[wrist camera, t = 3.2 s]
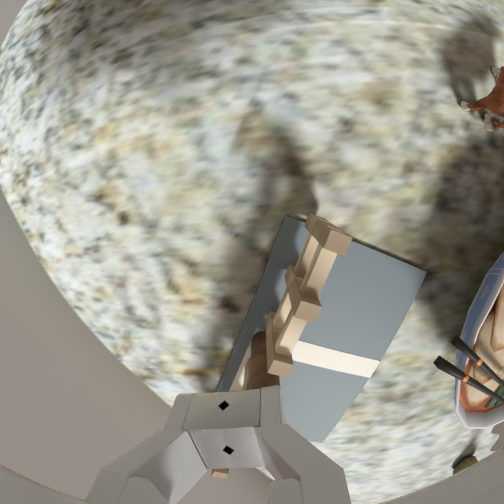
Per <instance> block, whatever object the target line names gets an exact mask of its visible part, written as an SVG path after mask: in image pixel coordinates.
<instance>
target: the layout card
mask: <svg viewBox="0 0 504 504" xmlns="http://www.w3.org/2000/svg"><path fill="white" fill-rule="evenodd" d="M304 225H305V222H302V221H300V220H297V219H294V218H292V217H289V216H286V215H285V218H284V220H283V223H282V226H281V228H280V231H279V234H278V236H277V239H276V242H275V244H274V247H273V250H272V252H271V255H270V257H269V260H268V263H267V265H266V268H265V271H264V273H263V276H262V278H261V281H260V284H259V286H258V289H257V291H256V294H255V296H254V299H253V302H252V304H251V307H250V309H249V312H248V314H247V317H246V319H245V322H244V325H243V327H242V330H241V332H240V335H239V337H238V340H237V342H236V345H235V347H234V350H233V352H232V355H231V357H230V360H229V362H228V365H227V367H226V370H225V372H224V375H223V377H222V380H221V382H220V385H219V387H218V390H217V392H231V391H234V390H235V391H240V390H241V388H242V386H243V384H244V371H245V365H246V363H247V361H248V358H251V340H252V337H253V336H254V334H256V333H257V332H260V331H266V319H267V317H268V315H269V312H270V311H273V312H277V310H278V307H279V305H280V302H281V300H282V298H283V295H284V293H285V291H286V288H287V286H286V282H285V277H284V276H285V273H286V271H287V268H288V266H289V264H291V265H294V266H296V264H297V261H298V259H299V256H300V254H301V251H302V249H303V246H304V244H305V241H306V239H307V236H308V234H309V231H308V230H307V229H306V228H305V227H304ZM426 273H427V272H426V271H424V270H422V269H419V268H417V267H415V266H412V265H410V264H408V263H405V262H403V261H401V260H398V259H396V258H393V257H391V256H389V255H386V254H384V253H381V252H379V251H377V250H374V249H372V248H369V247H367V246H364V245H362V244H359V243H357V242H354V241H351V243H350V246H349V248H348V250H347V253H346V255H345V256H342V255H340V254H337V256H336V258H335V261H334V263H333V265H332V268H331V270H330V272H329V275H328V277H327V279H326V281H325V284H324V286H323V288H322V290H321V293H320V295H319V297H318V299H319V301H320V303H321V305H322V309H321V311H320V313H319V315H318V317H317V320H316V322H315V323H312V322H308V321H307V323H306V325H305V327H304V329H303V331H302V333H301V335H300V337H299V339H298V341H297V343H296V346H295V348H294V350H293V352H292V359H293V367H292V369H291V371H290V373H289V374H288V376H287V378H286V377H282V376H279V378H280V389H281V395H282V401H283V407H284V412H285V419H286V424H288V425H290V426H291V427H292V428H293V429H294V430H295V431H297V432H298V433H299V434H300V435H301V436H303V437H304V438H305V439H306V440H308V441H315V442H323V441H324V440H325V438H326V437H327V436H328V435H329V433H330V432H331V431H332V430H333V428H334V427H335V426H336V424H337V423H338V422H339V420H340V419H341V418H342V417H343V415H344V414H345V412H346V411H347V410H348V408H349V407H350V406H351V404H352V403H353V401H354V400H355V399H356V397H357V396H358V394H359V393H360V391H361V390H362V388H363V387H364V385H365V384H366V382H367V381H368V379H369V378H370V377H371V375H372V374H373V372H374V371H375V369H376V367H377V366H378V364H379V363H380V360H381V359H382V357H383V355H384V354H385V352H386V350H387V349H388V347H389V345H390V344H391V342H392V340H393V338H394V337H395V335H396V333H397V331H398V329H399V327H400V326H401V324H402V322H403V320H404V318H405V316H406V314H407V312H408V310H409V309H410V307H411V305H412V303H413V301H414V299H415V296H416V294H417V292H418V290H419V288H420V286H421V284H422V282H423V280H424V277H425V275H426Z"/></svg>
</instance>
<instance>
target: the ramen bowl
mask: <svg viewBox="0 0 504 504" xmlns="http://www.w3.org/2000/svg"><path fill="white" fill-rule="evenodd" d="M451 343H452V344H453V345H454V346H455V347H456V348H457V352H456V366H454V365H453V364H451V363H450V362H448V361H447V360H445V359H444V358H442V357H440V356H438V358H437V359H436V360H435V361H434V364H435V365H436V367H437V368H439V369H441V370H442V371H444V372H446V373H448V374H450V375H452V376H453V377H455V378H456V380H455V397H454V400H455V414H456V415H457V416H458V418H459V419H460V421H461V422H462V424H463V425H464V427H465V428H466V429H487V428H489V427H491V426H494V425H496V424H498V423H500V422H502V421H504V251H503V253H502V254H501V255H500V257H499V258H498V259H497V261H496V262H495V263H494V264H493V266H492V267H491V268H490V269H489V271H488V272H487V273H486V275H485V277H484V279H483V281H482V284H481V286H480V288H479V290H478V292H477V294H476V296H475V298H474V300H473V302H472V304H471V305H470V307H469V309H468V313H467V317H466V320H465V323H464V327H463V330H462V333H461V336H460V338H459V337H458V336H457V335H456V336H455V337H454V338H453V340H452V341H451Z"/></svg>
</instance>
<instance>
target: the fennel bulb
mask: <svg viewBox="0 0 504 504" xmlns="http://www.w3.org/2000/svg"><path fill="white" fill-rule="evenodd" d="M477 462H478V461H477V459H476V457H475V456H469V457H466V458H464V459H463V460H462V461H461V462H460V463H459V464H458V465H457V466H456V467H455V468H454V470H453V475H454V474H456V473H458V472H460V471H462V470H464V469H466V468H468V467H470V466H472V465H474V464H475V463H477Z"/></svg>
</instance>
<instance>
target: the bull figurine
mask: <svg viewBox="0 0 504 504" xmlns="http://www.w3.org/2000/svg"><path fill="white" fill-rule="evenodd" d="M491 70H492V72H493V73H494V76H498V75H499V77H498V84H497V85H496V86H495V87H494V88H493V90H492V92H491V93H490V94H489V95H488V96H487V97H484V98H482V99H480V100H478V101H475V102H472V103H471V104H469V103H467V102H466V101H464V100H463V101H461V106H462V109H463V110H464V111H465V112H466V111H469V110H471V109H472V110H474V111H479V110H482V109H487V112H488V113H485V114H484V117H485V119H484V122H485V124H484V126H483V127H484V129H486V130H489V131H492V132H494V131H496V130H498V129H499V128H501V127H503V128H504V66H502V67H501V68H496V67H492V68H491Z"/></svg>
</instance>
